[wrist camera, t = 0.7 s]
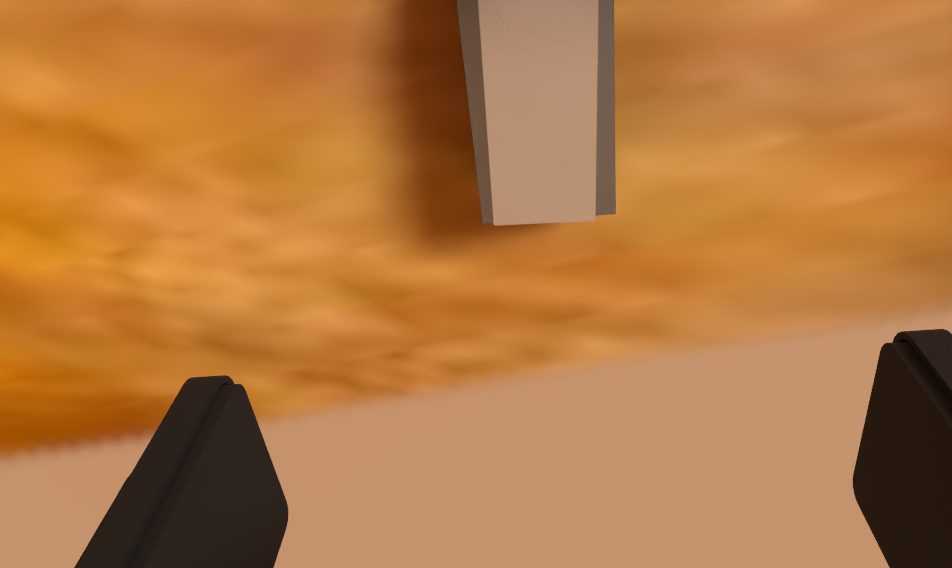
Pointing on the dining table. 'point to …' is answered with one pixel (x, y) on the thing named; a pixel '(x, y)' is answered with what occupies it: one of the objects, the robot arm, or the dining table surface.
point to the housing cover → (541, 108)
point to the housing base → (605, 105)
